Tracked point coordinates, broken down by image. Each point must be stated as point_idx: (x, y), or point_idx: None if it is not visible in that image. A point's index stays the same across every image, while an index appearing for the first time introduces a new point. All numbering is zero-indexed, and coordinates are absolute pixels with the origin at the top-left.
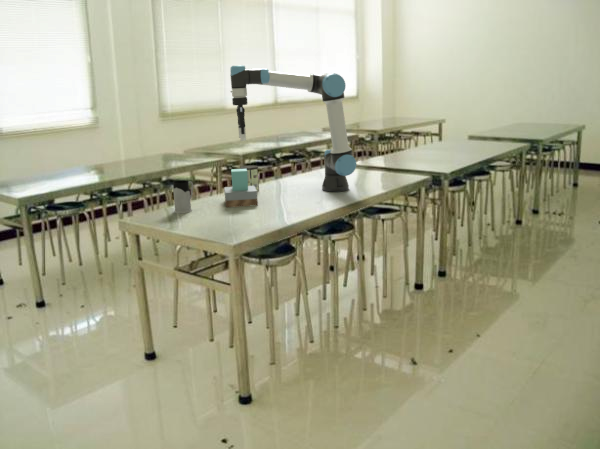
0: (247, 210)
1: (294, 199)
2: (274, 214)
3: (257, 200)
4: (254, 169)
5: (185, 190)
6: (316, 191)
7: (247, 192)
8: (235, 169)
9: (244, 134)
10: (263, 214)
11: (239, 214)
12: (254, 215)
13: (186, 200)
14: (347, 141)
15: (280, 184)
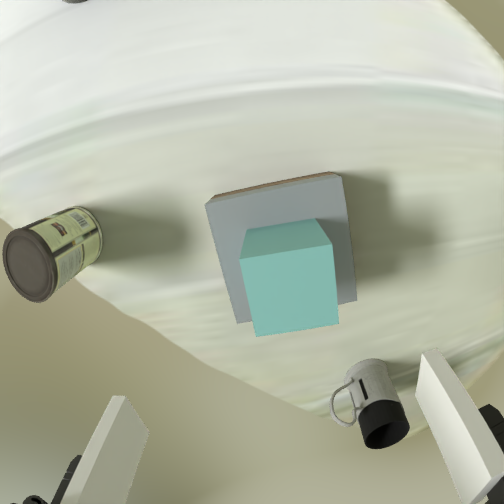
0: (401, 201)
1: (235, 45)
2: (454, 116)
3: (332, 173)
4: (43, 238)
5: (400, 405)
6: (107, 7)
7: (347, 216)
8: (264, 315)
9: (466, 406)
10: (452, 148)
11: (443, 221)
12: (459, 175)
13: (392, 385)
14: None
15: (2, 157)
